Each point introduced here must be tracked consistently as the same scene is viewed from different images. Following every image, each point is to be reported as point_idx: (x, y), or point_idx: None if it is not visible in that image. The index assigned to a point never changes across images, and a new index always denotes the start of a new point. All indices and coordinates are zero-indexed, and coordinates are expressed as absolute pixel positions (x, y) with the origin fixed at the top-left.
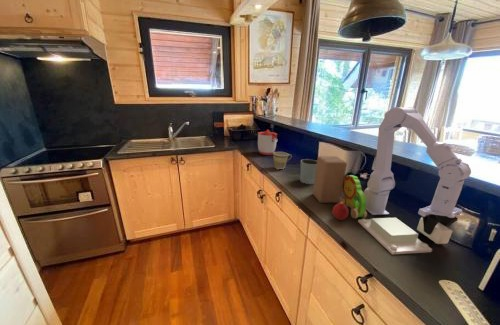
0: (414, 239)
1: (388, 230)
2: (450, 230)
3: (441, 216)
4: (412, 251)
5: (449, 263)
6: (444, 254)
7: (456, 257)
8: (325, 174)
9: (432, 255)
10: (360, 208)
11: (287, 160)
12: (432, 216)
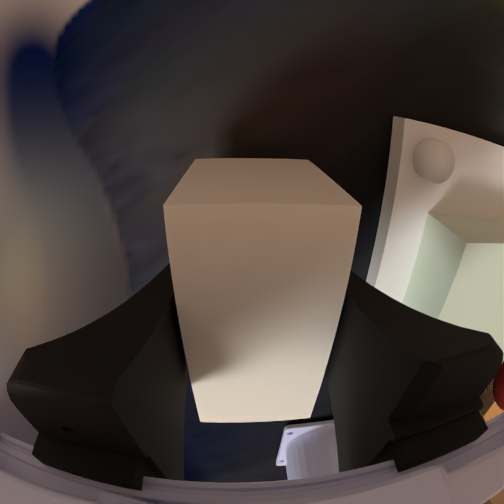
0: (452, 221)
1: None
2: (192, 214)
3: (172, 440)
4: (502, 146)
5: (372, 7)
6: (319, 73)
7: (252, 33)
8: (488, 501)
9: (414, 89)
10: (481, 414)
11: None
12: (445, 427)
